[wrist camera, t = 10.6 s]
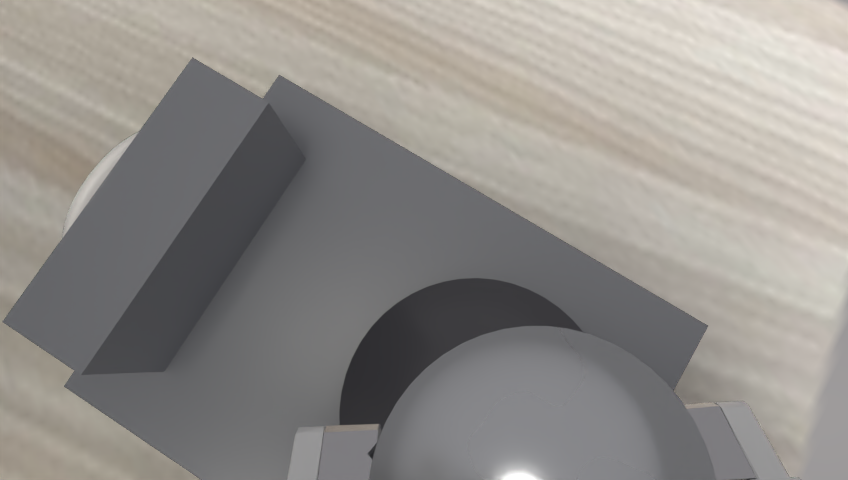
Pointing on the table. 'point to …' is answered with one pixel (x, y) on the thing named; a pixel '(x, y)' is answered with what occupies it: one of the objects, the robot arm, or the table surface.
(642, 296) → the scale
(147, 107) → the table surface
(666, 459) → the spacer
